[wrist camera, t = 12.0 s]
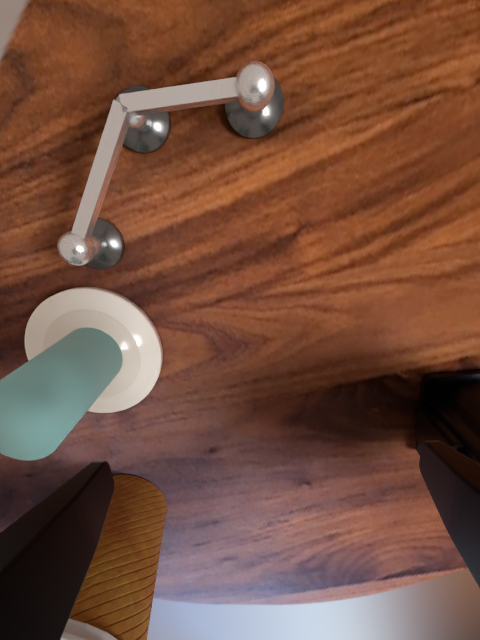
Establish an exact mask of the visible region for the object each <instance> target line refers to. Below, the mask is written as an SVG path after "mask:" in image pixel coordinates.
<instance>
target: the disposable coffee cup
mask: <svg viewBox="0 0 480 640" xmlns="http://www.w3.org/2000/svg"><path fill="white" fill-rule="evenodd" d="M113 479H114V484H115V487H114V492H113V496H112V499H111V503H110V506H109V509H108V513H107V516H106V519H105V523H104V526H103V530H102V533H101V536H100V539H99V543H98V546H97V548H96V551H95V554H94V556H93V559H92V562H91V564H90V567H89V569H88V572H87V574H86V577H85V579H84V582H83V584H82V587H81V589H80V592H79V594H78V597H77V599H76V602H75V604H74V607H73V609H72V612H71V614H70V617H69V619H68V622H67V624H66V627H65V629H64V632H63V634H62V637H61V639H60V640H146V639H147V634H148V625H149V620H150V613H151V608H152V600H153V594H154V588H155V581H156V575H157V569H158V561H159V555H160V549H161V542H162V535H163V529H164V522H165V516H166V510H167V504H166V501H165V498H164V496H163V494H162V493H161V491H160V490H159V489H158V488H157V487H156V486H155V485H153V484H152V483H150V482H148V481H147V480H145V479H142V478H140V477H137V476H132V475H115V476H113Z"/></svg>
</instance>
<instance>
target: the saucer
mask: <svg viewBox="0 0 480 640" xmlns="http://www.w3.org/2000/svg"><path fill="white" fill-rule="evenodd" d="M87 327H88V328H95V329H99V330H101V331H103V332H105V333H107V334H108V335H110V336H111V337H112V338H113V339H114V340H115V341H116V342H117V344H118V346H119V347H120V350H121V352H122V359H123V361H122V367H121V369H120V371H119V373H118V374H117V375H116V376H115V378H114V379H113V380H112V381H111V382H110V384H109V385H108V386H107V387H106V389H105V390H104V391H103V392H102V393H101V395H100V396H99V397H98V398H97V400H96V401H95V402H94V403H93V404H92V406H91V407H90V408H89V409H88V411H90V412H97V413H111V412H118V411H122V410H125V409H128V408H130V407H132V406H134V405H136V404H138V403H139V402H140V401H142V400H143V399H144V398H145V397H146V396H147V395H148V394H149V393H150V391H151V390H152V388H153V387H154V385H155V383H156V381H157V379H158V377H159V375H160V372H161V369H162V363H163V349H162V344H161V340H160V337H159V334H158V332H157V330H156V328H155V326H154V324H153V323H152V321H151V320H150V318H149V317H148V316H147V315H146V313H145V312H144V311H143V310H142V309H141V308H140V307H138V306H137V305H136V304H135V303H134V302H132V301H131V300H129V299H128V298H126V297H124V296H122V295H120V294H118V293H116V292H113V291H110V290H108V289H103V288H99V287H76V288H71V289H68V290H65V291H62V292H60V293H57V294H55V295H53V296H51V297H49V298H47V299H46V300H45V301H43V302H42V303H41V304H40V305H39V306H38V307H37V308H36V309H35V310H34V312H33V313H32V315H31V317H30V319H29V321H28V323H27V327H26V331H25V350H26V355H27V358H28V361H29V360H31V359H32V358H34V357H35V356H37V355H38V354H40V353H41V352H43V351H44V350H46V349H47V348H49V347H50V346H52V345H53V344H55V343H56V342H58V341H59V340H61V339H62V338H64V337H65V336H66V335H68V334H69V333H71V332H72V331H74V330H76V329H79V328H87Z"/></svg>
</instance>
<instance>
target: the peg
mask: <svg viewBox="0 0 480 640" xmlns="http://www.w3.org/2000/svg"><path fill="white" fill-rule="evenodd" d="M122 361H123V359H122V352H121V350H120V347H119V346H118V344H117V342H116V341H115V340H114V339H113V338H112V337H111V336H110V335H108V334H107V333H105V332H103V331H101V330H99V329H95V328H88V327H87V328H79V329H76V330H74V331H72V332H71V333H69V334H68V335H66V336H65V337H64V338H62V339H61V340H59V341H58V342H56V343H55V344H53V345H52V346H50V347H49V348H47V349H46V350H44V351H43V352H41V353H40V354H38V355H37V356H35V357H34V358H32V359H31V360H29V361H28V362H26V363H25V364H23V365H22V366H20V367H19V368H18V369H16V370H15V371H13V372H12V373H10V374H9V375H7V376H6V377H4V378H3V379H1V380H0V453H1V454H3V455H5V456H8V457H11V458H14V459H19V460H38V459H41V458H44V457H46V456H48V455H50V454H51V453H53V452H54V451H55V450H56V448H57V447H58V446H59V445H60V444H61V442H62V441H63V440H64V439H65V437H66V436H67V435H68V434H69V433H70V431H71V430H72V429H73V428H74V426H75V425H76V424H77V423H78V422H79V420H80V419H81V418H82V417H83V415H84V414H85V413H86V412H87V411H88V409H89V408H90V407H91V406H92V404H93V403H94V402H95V401H96V400H97V398H98V397H99V396H100V395H101V393H102V392H103V391H104V390H105V389H106V387H107V386H108V385H109V384H110V382H111V381H112V380H113V379H114V378H115V376H116V375H117V374H118V373H119V371H120V369H121V367H122Z"/></svg>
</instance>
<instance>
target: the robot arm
mask: <svg viewBox="0 0 480 640" xmlns="http://www.w3.org/2000/svg"><path fill="white" fill-rule="evenodd" d="M430 381H433V382H432V383H431V384H429V382H430ZM414 435H415V437H416V446H415V448H416V450H417V452H418V453H419V454H420V462H419V467H420V471H421V474H422V476H423V479H424V481H425V483H426V485H427V488H428V490H429V492H430V494H431V496H432V499H433V501H434V503H435V505H436V507H437V510H438V512H439V514H440V516H441V518H442V521H443V523H444V525H445V527H446V529H447V531H448V533H449V535H450V537H451V539H452V540H453V542H454V544H455V546H456V548H457V549H458V551H459V553H460V555H461V556H462V558H463V560H464V562H465V563H466V565H467V567H468V569H469V570H470V572H471V574H472V575H473V577H474V579H475V581H476V582H477V584H478V586H479V588H480V371H469V372H456V373H443V374H430V375H426V376H425V377H423V379H422V381H421V391H420V402H419V405H418V407H417V411H416V423H415V434H414ZM114 487H115V484H114V479H113V476H112V473H111V469H110V466H109V464H108V462H107V461H95V462H92V463H90V464H89V465H88V466H86V467H85V468H84V469H83V470H81V471H80V472H79V473H77V474H76V475H75V476H73V477H72V478H71V479H70V480H68V481H67V482H66V483H64V484H63V485H62V486H61V487H59V488H58V489H57V490H55V491H54V492H53V493H51V494H50V495H49V496H48V497H46V498H45V499H44V500H42V501H41V502H40V503H38V504H37V505H36V506H35V507H33V508H32V509H31V510H29V511H28V512H27V513H26V514H24V515H23V516H22V517H20V518H19V519H18V520H16V521H15V522H14V523H13V524H11V525H10V526H9V527H7V528H6V529H5V530H3V531H2V532H1V533H0V640H60V639H61V637H62V634H63V632H64V629H65V627H66V624H67V622H68V619H69V617H70V614H71V612H72V609H73V607H74V604H75V602H76V599H77V597H78V594H79V592H80V589H81V587H82V584H83V582H84V579H85V577H86V574H87V572H88V569H89V567H90V564H91V562H92V559H93V556H94V554H95V551H96V548H97V546H98V543H99V539H100V536H101V533H102V530H103V526H104V523H105V519H106V516H107V513H108V509H109V506H110V503H111V499H112V496H113V492H114Z"/></svg>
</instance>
